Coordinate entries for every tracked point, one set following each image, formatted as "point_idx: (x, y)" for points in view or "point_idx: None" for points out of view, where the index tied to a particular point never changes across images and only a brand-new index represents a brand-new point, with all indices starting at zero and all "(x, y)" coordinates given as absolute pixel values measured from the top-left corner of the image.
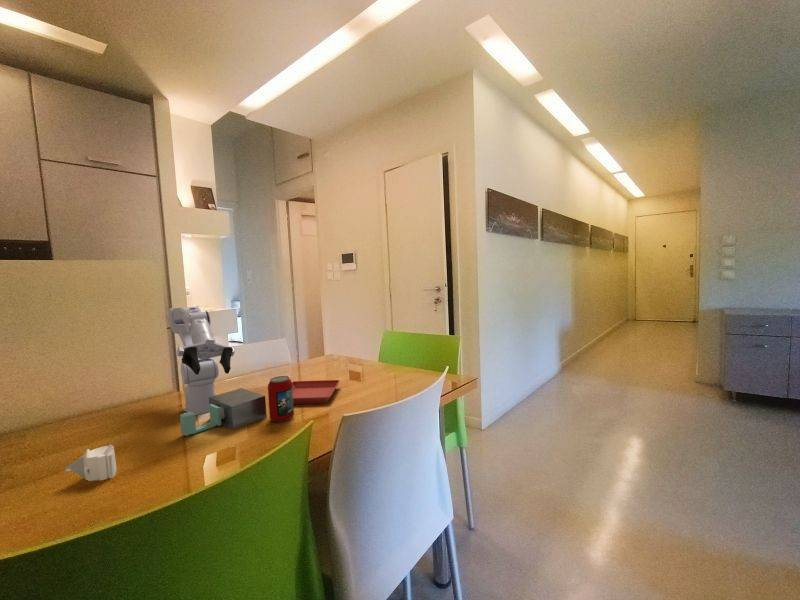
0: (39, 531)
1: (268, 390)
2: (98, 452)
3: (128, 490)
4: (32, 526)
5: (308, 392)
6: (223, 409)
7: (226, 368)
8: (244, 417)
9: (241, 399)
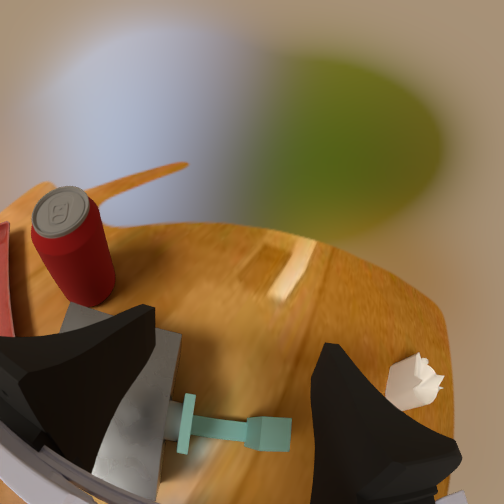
0: (432, 308)
1: (92, 247)
2: (422, 396)
3: (382, 308)
4: (437, 323)
5: None
6: None
7: (148, 332)
8: None
9: None
